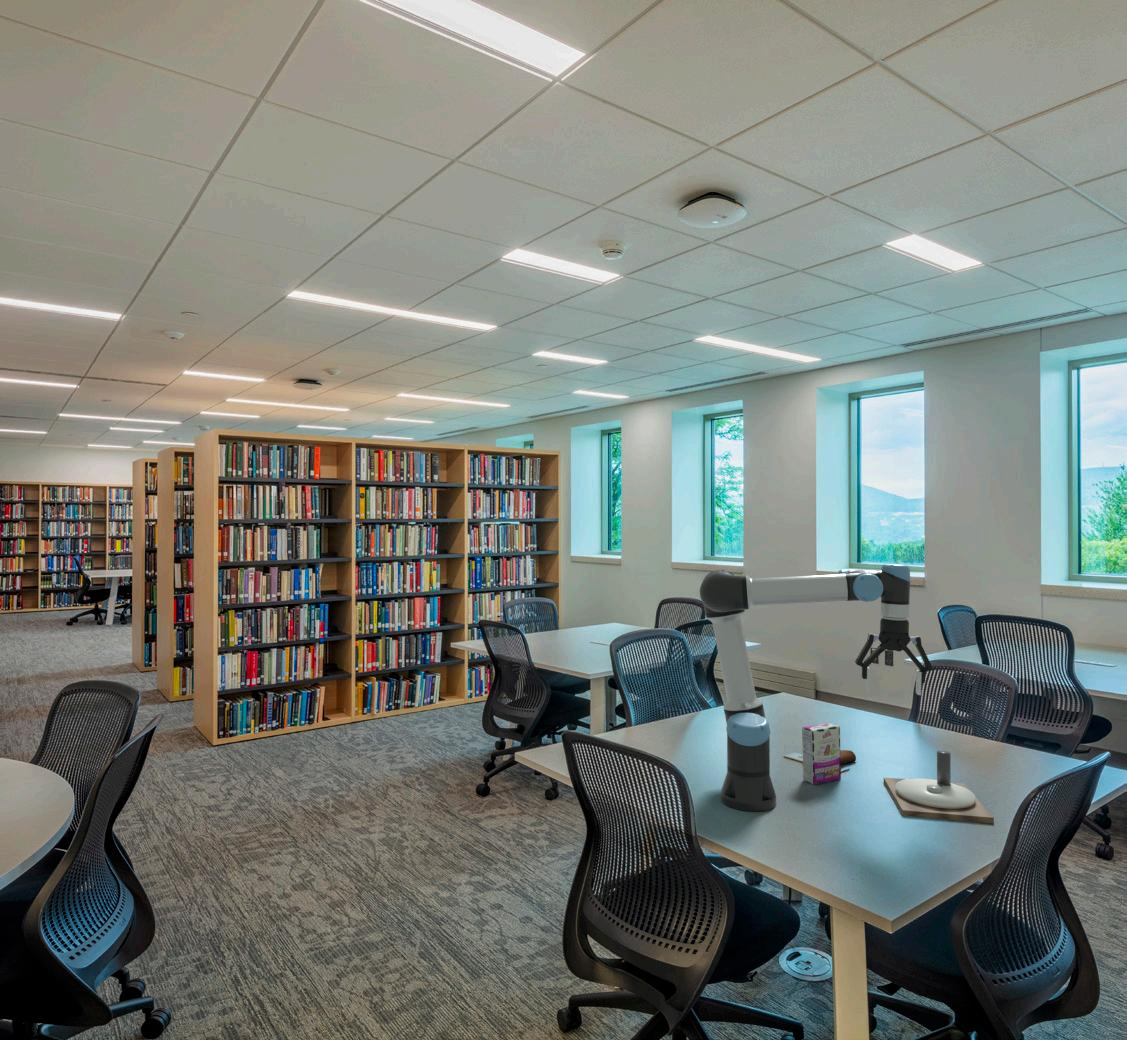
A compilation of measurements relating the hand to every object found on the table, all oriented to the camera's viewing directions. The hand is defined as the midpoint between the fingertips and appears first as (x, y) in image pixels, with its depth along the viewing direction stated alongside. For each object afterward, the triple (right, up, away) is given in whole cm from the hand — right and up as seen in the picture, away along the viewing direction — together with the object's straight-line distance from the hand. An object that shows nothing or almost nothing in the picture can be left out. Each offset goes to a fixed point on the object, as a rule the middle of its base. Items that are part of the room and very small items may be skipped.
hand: (892, 692), depth 210 cm
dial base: (+10, -30, -4) cm, 32 cm away
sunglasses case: (-8, -31, +29) cm, 43 cm away
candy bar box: (-16, -30, +14) cm, 37 cm away
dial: (+10, -28, -4) cm, 30 cm away
